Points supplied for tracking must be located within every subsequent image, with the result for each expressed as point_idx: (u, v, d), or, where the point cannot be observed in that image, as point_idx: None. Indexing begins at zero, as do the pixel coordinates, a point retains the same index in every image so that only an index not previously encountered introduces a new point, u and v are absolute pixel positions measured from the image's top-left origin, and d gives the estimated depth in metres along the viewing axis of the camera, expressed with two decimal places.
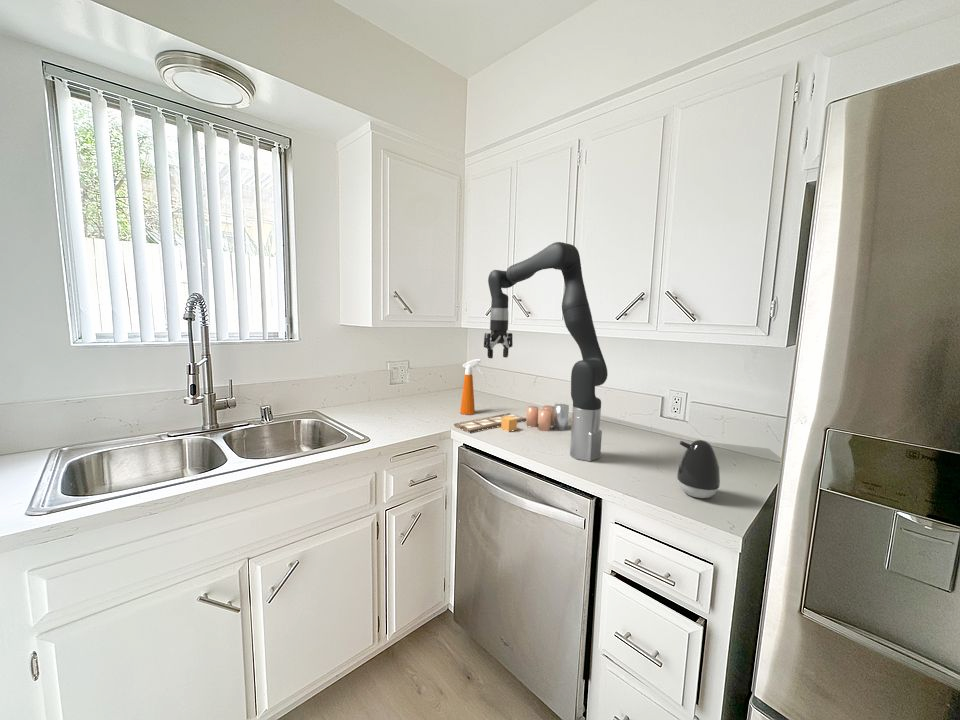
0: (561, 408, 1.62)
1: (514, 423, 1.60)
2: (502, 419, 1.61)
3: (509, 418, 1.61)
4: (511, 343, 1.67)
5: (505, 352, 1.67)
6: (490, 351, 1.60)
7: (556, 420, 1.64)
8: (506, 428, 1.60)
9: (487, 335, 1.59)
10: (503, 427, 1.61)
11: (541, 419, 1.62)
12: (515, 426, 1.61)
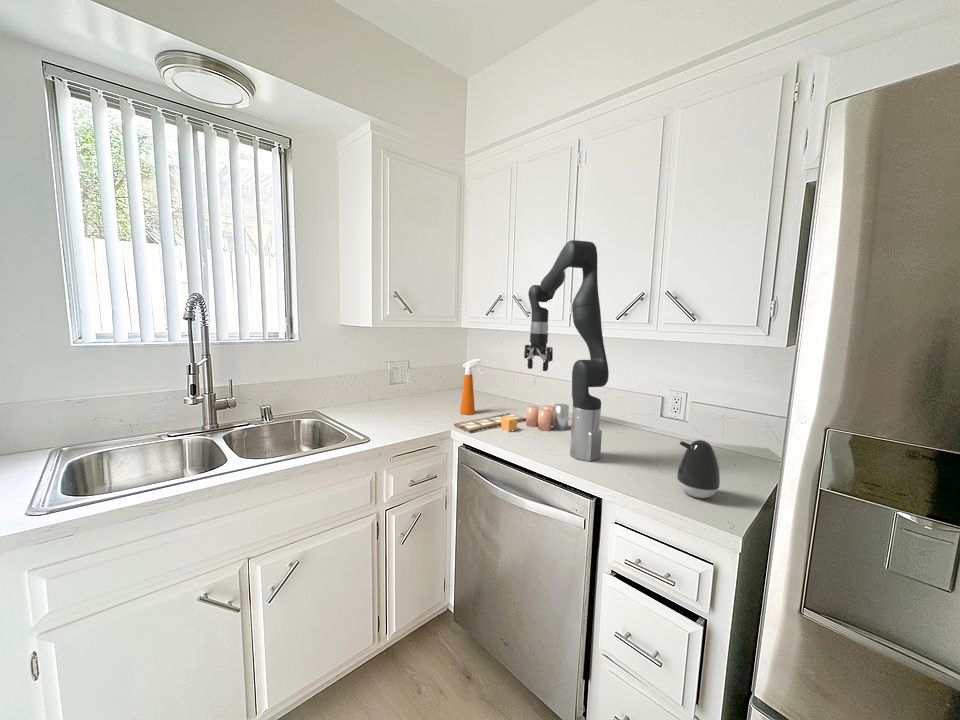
0: (561, 408, 1.62)
1: (514, 423, 1.60)
2: (502, 419, 1.61)
3: (509, 418, 1.61)
4: None
5: (531, 363, 1.72)
6: None
7: (556, 420, 1.64)
8: (506, 428, 1.60)
9: (551, 349, 1.63)
10: (503, 427, 1.61)
11: (541, 419, 1.62)
12: (515, 426, 1.61)
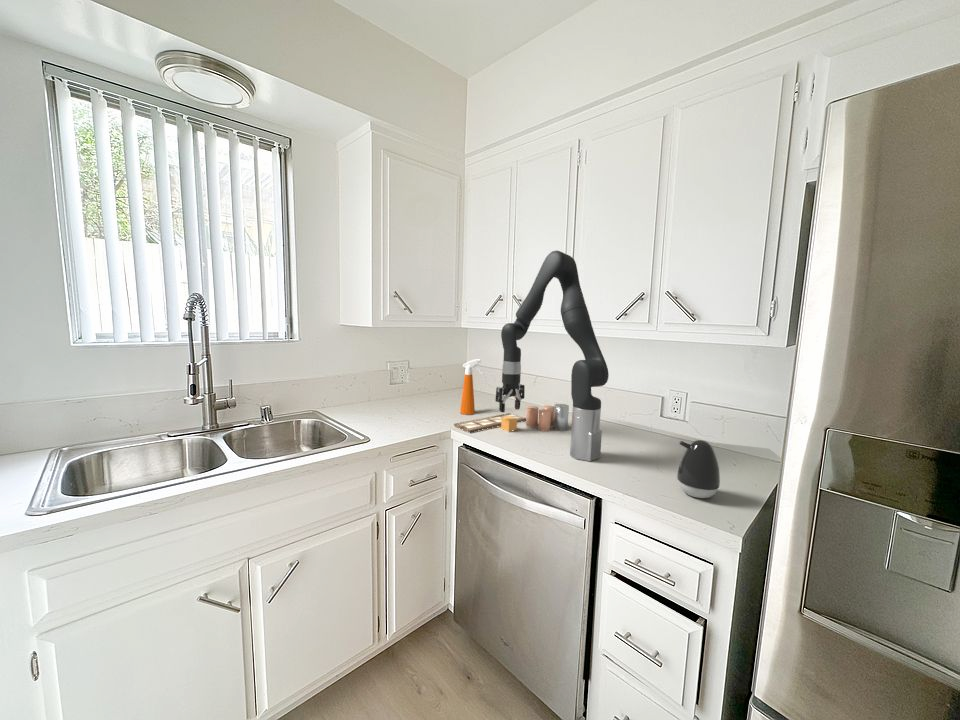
0: (561, 408, 1.62)
1: (514, 423, 1.60)
2: (502, 419, 1.61)
3: (509, 418, 1.61)
4: None
5: None
6: None
7: (556, 420, 1.64)
8: (506, 428, 1.60)
9: None
10: (503, 427, 1.61)
11: (541, 419, 1.62)
12: (515, 426, 1.61)
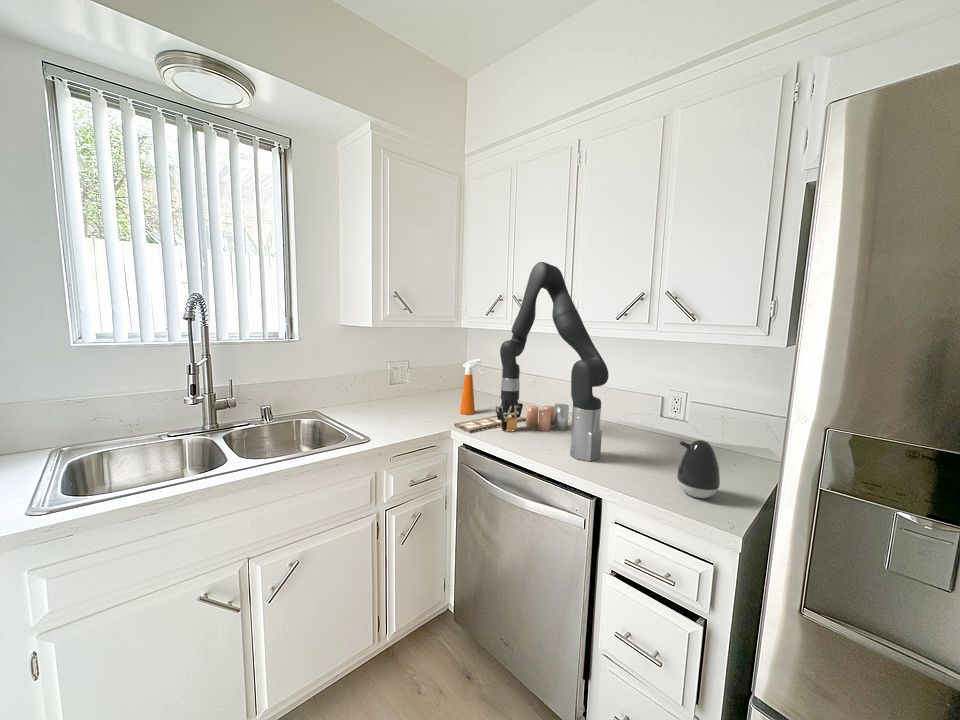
0: (561, 408, 1.62)
1: (514, 423, 1.60)
2: None
3: (509, 418, 1.61)
4: None
5: None
6: None
7: (556, 420, 1.64)
8: None
9: None
10: None
11: (541, 419, 1.62)
12: (515, 426, 1.61)
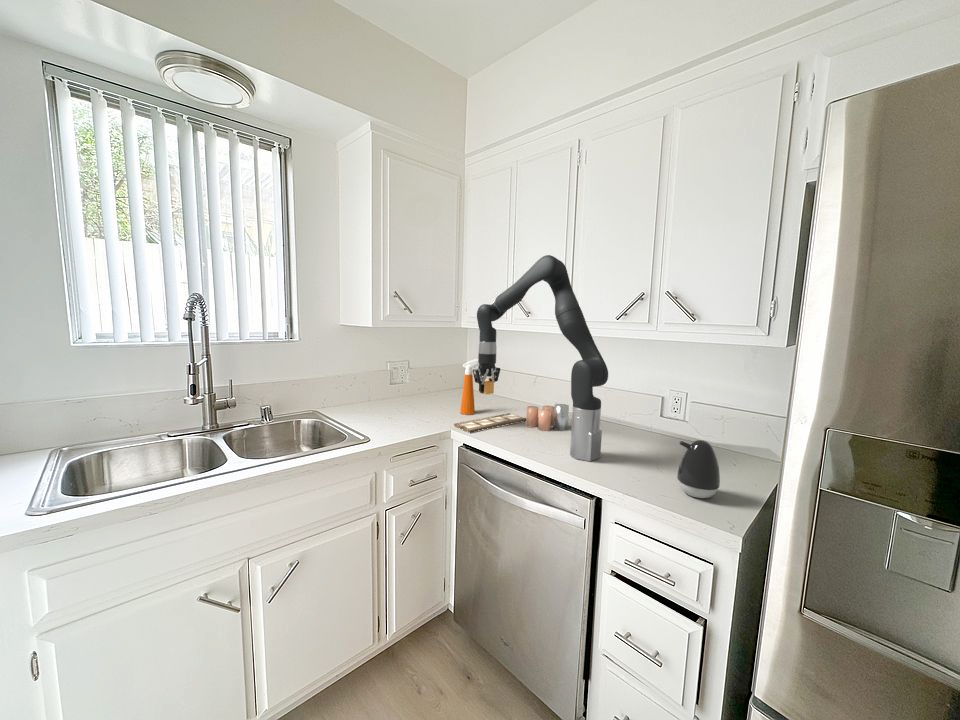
0: (561, 408, 1.62)
1: (491, 386, 1.64)
2: None
3: (486, 381, 1.65)
4: None
5: None
6: None
7: (556, 420, 1.64)
8: None
9: None
10: None
11: (541, 419, 1.62)
12: (492, 389, 1.65)
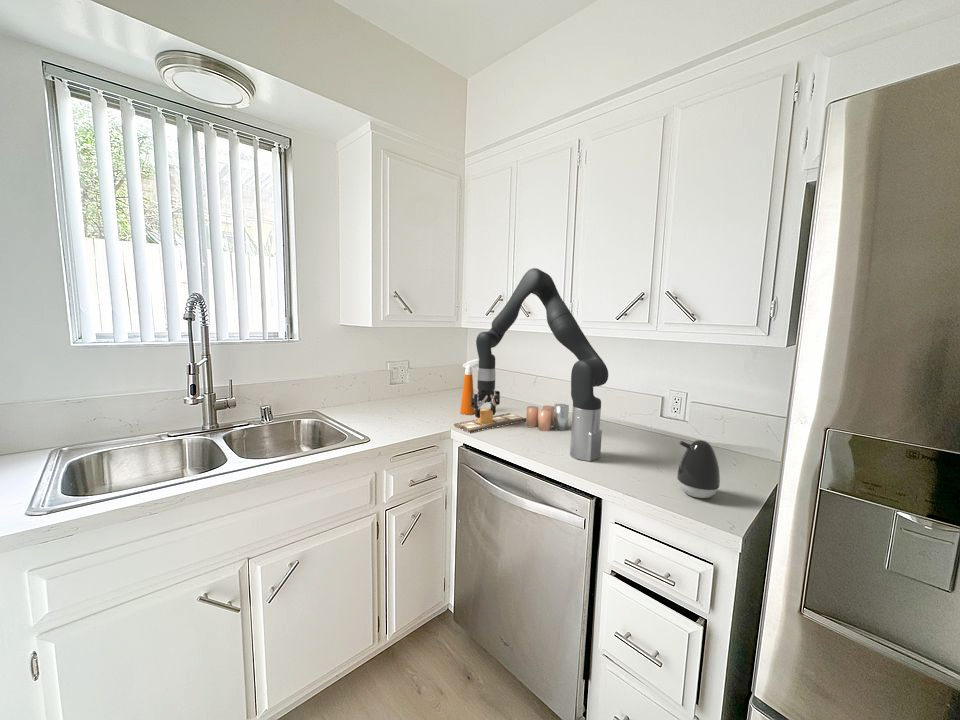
0: (561, 408, 1.62)
1: (490, 415, 1.66)
2: None
3: (485, 410, 1.66)
4: None
5: None
6: None
7: (556, 420, 1.64)
8: (482, 420, 1.65)
9: None
10: (479, 419, 1.66)
11: (541, 419, 1.62)
12: (491, 418, 1.66)
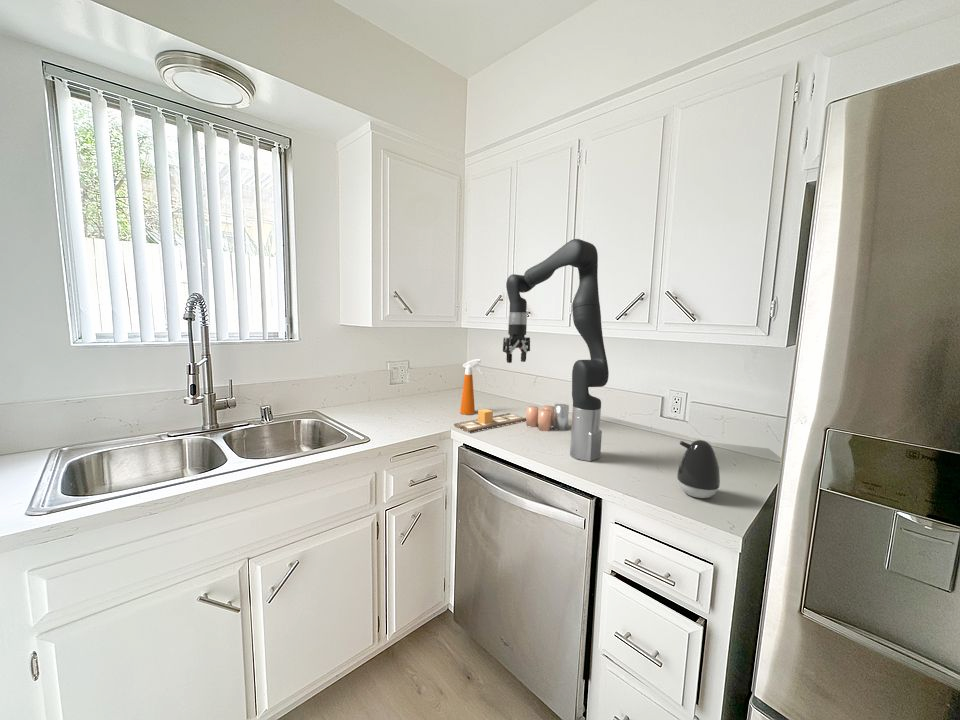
0: (561, 408, 1.62)
1: (490, 415, 1.66)
2: (479, 411, 1.67)
3: (485, 410, 1.66)
4: None
5: None
6: None
7: (556, 420, 1.64)
8: (482, 420, 1.65)
9: None
10: (479, 419, 1.66)
11: (541, 419, 1.62)
12: (491, 418, 1.66)
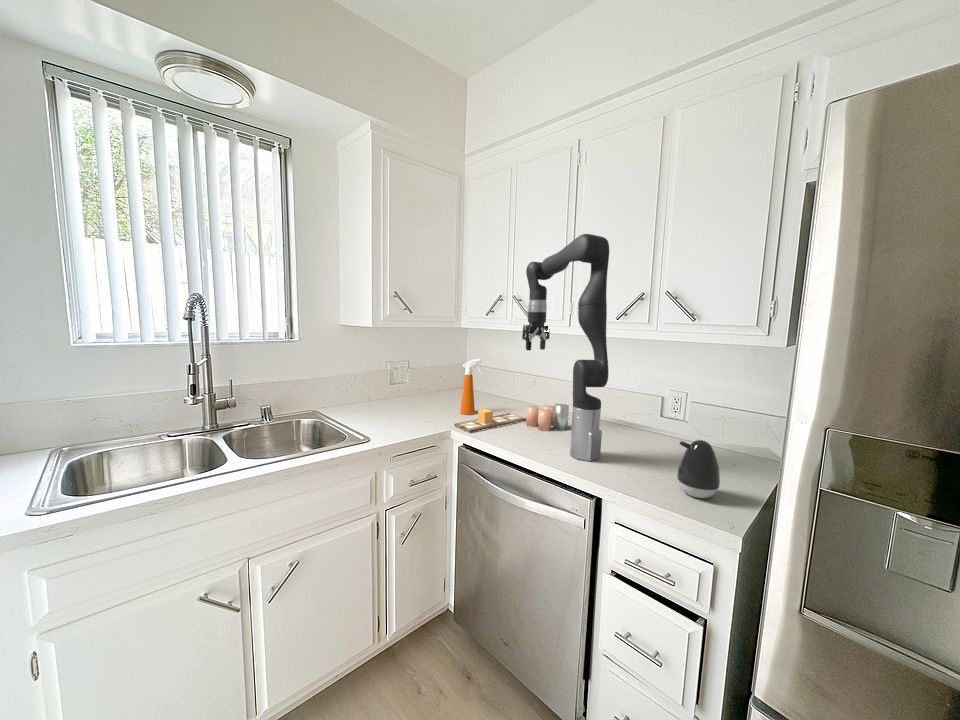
0: (561, 408, 1.62)
1: (490, 415, 1.66)
2: (479, 411, 1.67)
3: (485, 410, 1.66)
4: None
5: None
6: None
7: (556, 420, 1.64)
8: (482, 420, 1.65)
9: None
10: (479, 419, 1.66)
11: (541, 419, 1.62)
12: (491, 418, 1.66)
